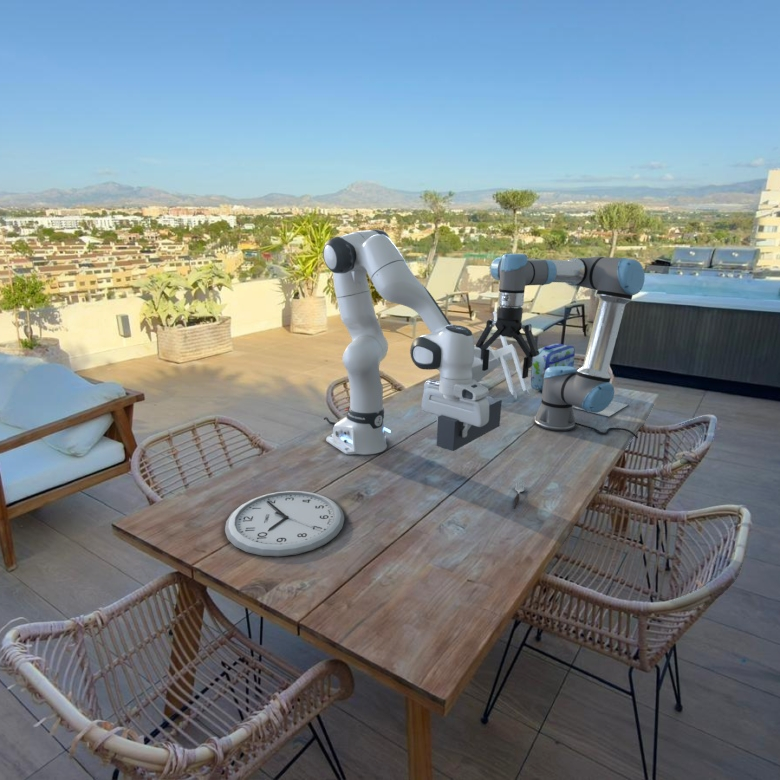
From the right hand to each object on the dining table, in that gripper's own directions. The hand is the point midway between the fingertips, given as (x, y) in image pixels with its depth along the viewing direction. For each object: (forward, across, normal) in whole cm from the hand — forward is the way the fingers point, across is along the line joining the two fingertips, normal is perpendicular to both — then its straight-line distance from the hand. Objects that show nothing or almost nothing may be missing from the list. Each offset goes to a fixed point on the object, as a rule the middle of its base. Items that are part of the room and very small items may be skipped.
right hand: (504, 373), depth 165 cm
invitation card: (+29, +12, +77) cm, 83 cm away
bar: (+14, 0, -21) cm, 25 cm away
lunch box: (+29, -15, +90) cm, 96 cm away
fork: (+29, +16, -21) cm, 39 cm away
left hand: (+11, -1, -30) cm, 32 cm away
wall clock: (+29, -26, -70) cm, 80 cm away
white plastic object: (+29, -39, +62) cm, 79 cm away
